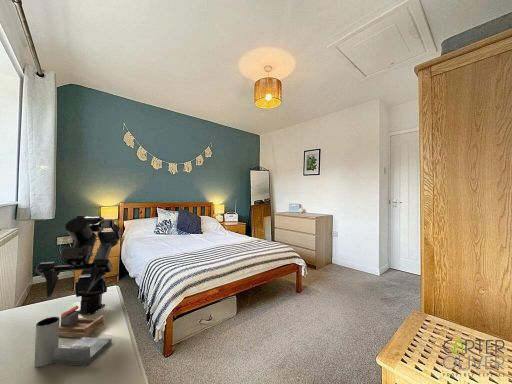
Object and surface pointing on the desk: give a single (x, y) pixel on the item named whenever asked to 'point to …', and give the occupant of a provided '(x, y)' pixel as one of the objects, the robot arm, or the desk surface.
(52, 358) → the planter
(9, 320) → the desk surface
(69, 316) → the ram lever
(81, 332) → the brown wooden tray
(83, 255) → the robot arm
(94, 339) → the press bed
